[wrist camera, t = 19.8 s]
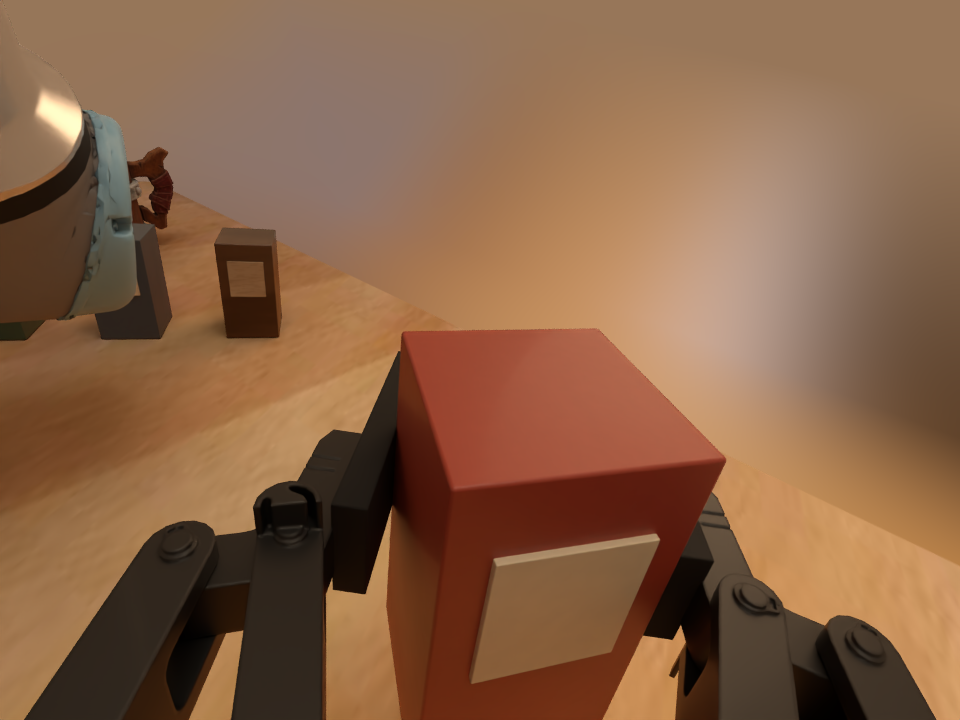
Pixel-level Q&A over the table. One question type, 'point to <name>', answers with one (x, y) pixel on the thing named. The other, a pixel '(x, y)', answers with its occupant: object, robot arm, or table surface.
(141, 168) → the mug
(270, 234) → the line block
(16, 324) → the line block
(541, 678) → the red box
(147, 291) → the line block
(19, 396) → the table surface
